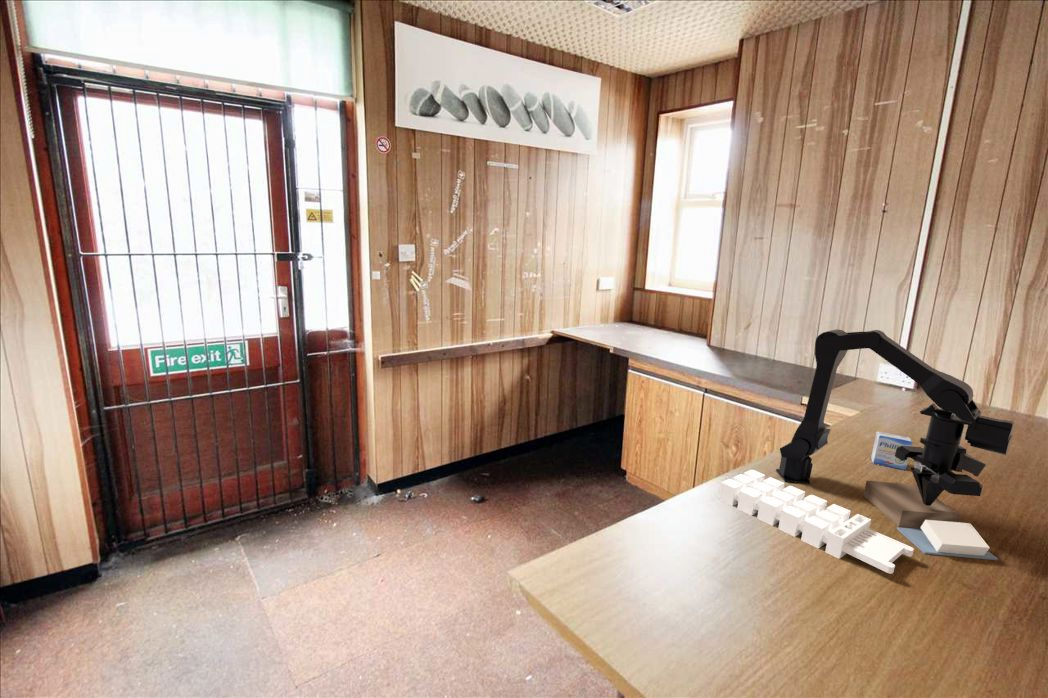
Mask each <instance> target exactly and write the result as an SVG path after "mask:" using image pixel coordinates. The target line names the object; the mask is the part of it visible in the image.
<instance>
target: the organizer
mask: <svg viewBox="0 0 1048 698" xmlns="http://www.w3.org/2000/svg"><path fill="white" fill-rule="evenodd" d="M785 484H786V483H785V482H783V481H780V480H778V479H776V478H773V477H771V476H769V477H767V478H766V474H764V473H763V472H759V471H757V470H755V469H749V470H747V471H745V472H744V473H743V474H742V473H740V474H738V475H737V474H736V475H735V476H733V477H732V479H731V478H728V479H726V480H723V481H721V482H720V490H719V496H718V500H719V501H721V502H722V503H725V504H727V505H729V506H731V507H733V506H735V505H737V507H736V509H737V510H739V511H741V512H743V513H745V514H747V515H748V516H754V515H756V514H757V517H756V519H757V520H760V521H761V522H764V523H766V524H768V525H770V526H771V527H773V526H775V525H777V524H778V530H780V531H782V532H784V533H785V534H788V535H790V536H792V537H797V536H798V535H800V534H801V539H800V541H801V542H804V543H806V544H808V545H811V546H812V547H814V548H816V549H820V548H822V547H823V546H825V551H824V553H826V554H828V555H831V557H834V558H837V559H839V560H840V559H841V558H842V557H844V556H845V555H847V554H848V555H850V556H851V557H853V558H856V559H858V560H861V561H862V562H864V563H866V564H868V565H870V566H872V567H875V568H876V569H878V570H881V571H883V572H884V573H887V574H889V575H891V574H892V575H893V574H894V571H895V568H896V564H894V563H893V562H895V561H896V560H897V559H898V558H899V557H901V556H902V555H904V556H906V557H910V558H911V557H912V556H913V554H914V550H915V548H914V547H913V546H909V545H908V544H905V543H903V542H901V541H900V540H899V541H898V540H896V539H894V538H891V537H889V536H887V535H885V534H882V533H880V532H877V531H876V530H874V529H871V528H870V527H871V523H872V519H871V518H869V517H866V516H865V515H861V514H859V513H856V514H855V515H853V516H852V517H850V516H851V511H852V510H850V509H847V508H844V507H843V506H840V505H838V504H836V503H833V504H830V505H829V506H827V504H828V500H826V499H824V498H822V497H819V496H816V495H814V494H813V493H812V494H810V495H807V496H806V491H805V490H802V489H799V488H798V487H795V486H792V485H788V486H787V487H785Z"/></svg>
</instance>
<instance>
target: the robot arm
mask: <svg viewBox="0 0 1048 698" xmlns="http://www.w3.org/2000/svg"><path fill="white" fill-rule="evenodd" d="M863 349H870V350H871V351H872V352H874V353H876V354H877V355H878V356H880V357H881V358H882V359H883V360H884V361H886V362H887V363H889V364H891V366H893V367H895V368H896V369H897V370H899V371H900V372H901V373H903V374H905V375H906V376H907V377H908V378H910V379H911V380H913V381H914V382H915V383H916V384H917V385H919V387H920V388H921V389H922V390H923V392H924V393H925V395H926V396H927V397H928V398H929V400H931V401H932V403H931V404H930V405H929V406H927V407H923V409H921V410H920V411H919V413H920V415H924V416H928V417H930V419H929V424H928V428H927V432H926V437H920V439H919V443H920V444H922V445H923V447H921V446H913V445H912V446H900V447H899V448H897V449H896V453H895V457H897V458H898V459H900V460H901V461H905V460H907V458H909V459H912V460H913V462H914V467H909V469H910V472H911V473H912V475H913V477H914V480H915V484H916V485H917V486H918V489H919V492H920V495H921V498H922V501H923V503H924V504H925V505H927V506H930V505H932V503H933V502H934V501H935V500H936V499H938V497H939V496H940V495H941V494H942V492H943V491H946V492H947V493H949V494H952V495H958V496H959V495H961V496H972V497H973V496H974V497H980V496H981V495H982V492H983V488H984V486H983V485H982V484H981V483H980V482H979V481H978V480H976V479H975V478H973V477H971V476H970V475H968V474H962V472H963V471H965V472H967V473H970V474H972V475H973V476H974V477H977V478H978V477H979V476H980V474H981V473H982V472H983V470H984V469H985V467H987V464H986V463H984V462H982V461H981V460H979V459H977V458H975V457H974V456H971V455H970V454H967V448H965V447H963V446H961V444H960V443H961V441H962V437H963V433H964V428H965V425H966V426H967V428H966V431H965V436H964V440H965V441H967V442H966V443H967V444H969V446H970V447H973V448H977V449H980V450H984V451H989V452H991V453H995V454H1000V455H1004V456H1006V455H1007V454H1008V451H1009V449H1010V445H1011V442H1012V439H1013V435H1012V433H1013V429H1014V424H1015V422H1014V421H1011V420H1007V419H998V418H993V417H991V416H984V415H982V412H981V410H980V408H979V407H978V406H977V404H976V402H975V400H974V399H973V398H974V390H973V388H972V387H971V386H970V385H969V384H968V383H967V382H965V381H963V380H961V379H959V378H956V377H955V376H953V375H950V374H948V373H945V372H943V371H940V370H938V369H936V368H933V367H932V366H931V365H929V364H927V363H926V362H925V361H923V360H922V359H921V358H919V357H917V356H916V355H915V354H913V353H912V352H910V351H909V350H907V349H906V348H905V347H903V346H901V345H900V344H899V343H898V342H896V341H894V340H893V339H892V338H890V337H889V336H887V335H886V334H885V332H884V331H882V330H880V329H879V330H878V329H874V330H869V331H868V330H867V331H854V332H853V331H851V332H850V331H849V332H846V331H845V330H843V329H839V328H838V329H832V330H828V331H825V332H822V333H820V334H818V335H817V336H816V338H815V342H814V357H815V363H816V368H815V370H814V376H813V380H812V383H811V388H810V392H809V396H808V400H807V404H806V408H805V412H804V417H803V419H802V420H801V422H800V423H799V425H798V427H797V428H796V430H795V432H794V434H793V436H792V438H791V441H790V442H789V443H787V444H785V445H783V446H781V447H779V451H780V456H781V457H780V463H779V467H778V468H776V469H775V472H776V473H777V474H778V475H779V476H780V477H781V478H782V480H783V481H784V482H787V483H800V484H811V483H812V481H811V480H810V478H811V474H812V470H813V463H812V461H813V460H812V459H813V458H812V457H811V456H812V455H814V454H815V453H817V452H818V451H820V450H821V449H823V447H825V446H826V445H828V443H829V441H828V438H829V435H830V433H831V428H826V427H825V417H826V412H827V409H828V405H829V401H830V397H831V393H832V390H833V386H834V382H835V378H836V374H837V369H838V367H839V366H840V364H841V363H842V361H843V360H844V358H845V357H846V354H847V352H848V351H851V350H852V351H853V350H863ZM953 471H954V472H953ZM956 472H957V473H956Z"/></svg>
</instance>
